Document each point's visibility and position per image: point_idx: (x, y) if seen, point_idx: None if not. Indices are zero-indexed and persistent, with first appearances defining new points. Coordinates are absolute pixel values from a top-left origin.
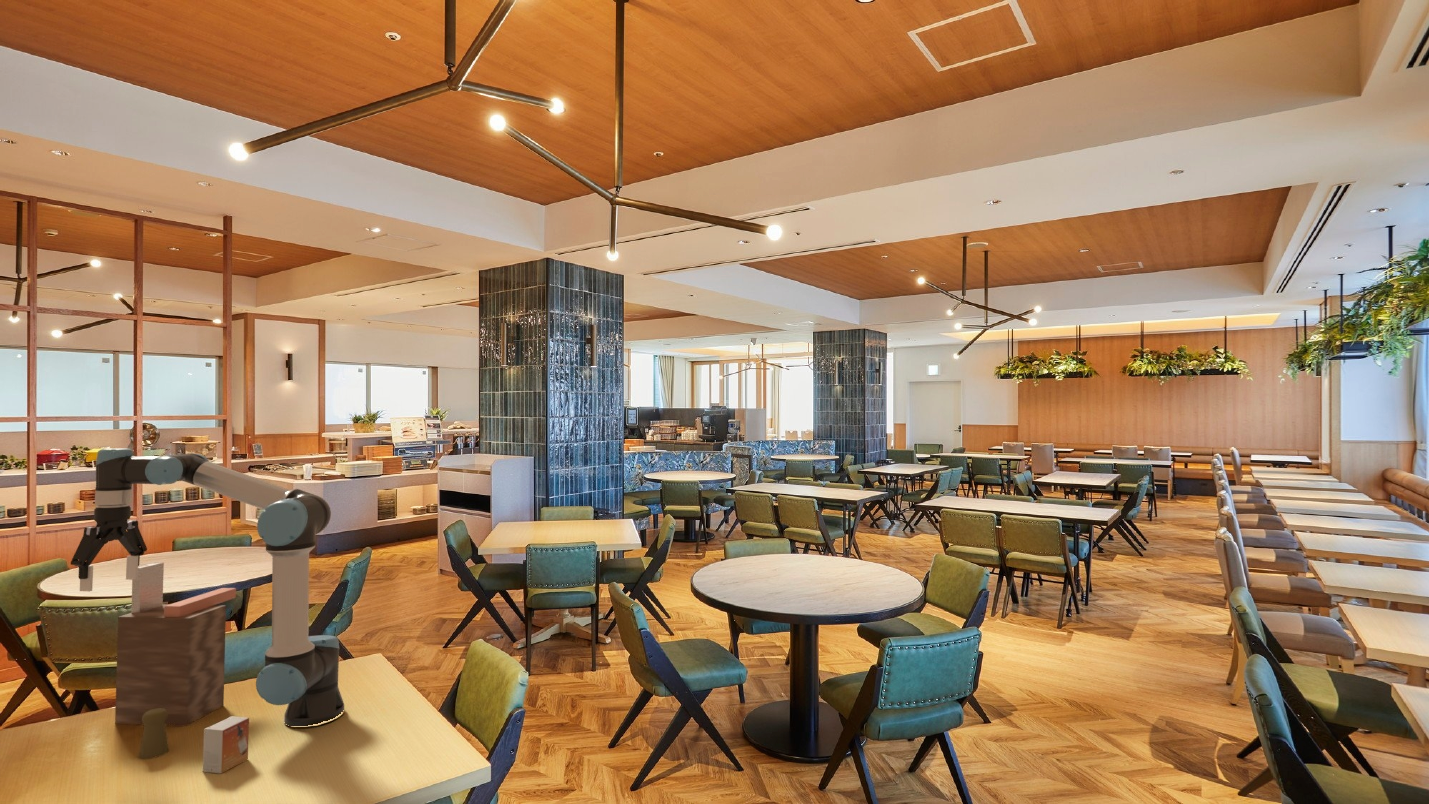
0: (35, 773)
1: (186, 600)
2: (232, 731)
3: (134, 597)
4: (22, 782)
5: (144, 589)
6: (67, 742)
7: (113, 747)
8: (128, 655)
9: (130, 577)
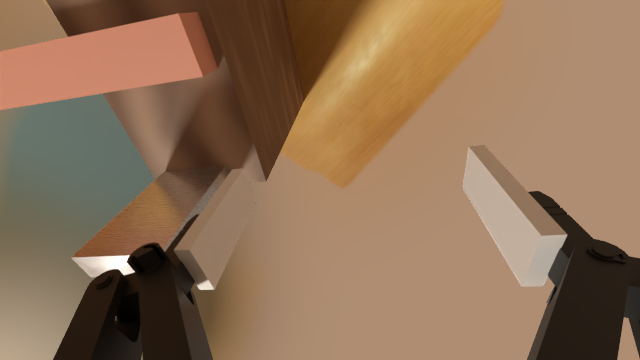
0: (446, 48)
1: (128, 73)
2: None
3: None
4: (472, 36)
5: (186, 200)
6: (360, 104)
7: (365, 21)
8: (279, 119)
9: (246, 192)
